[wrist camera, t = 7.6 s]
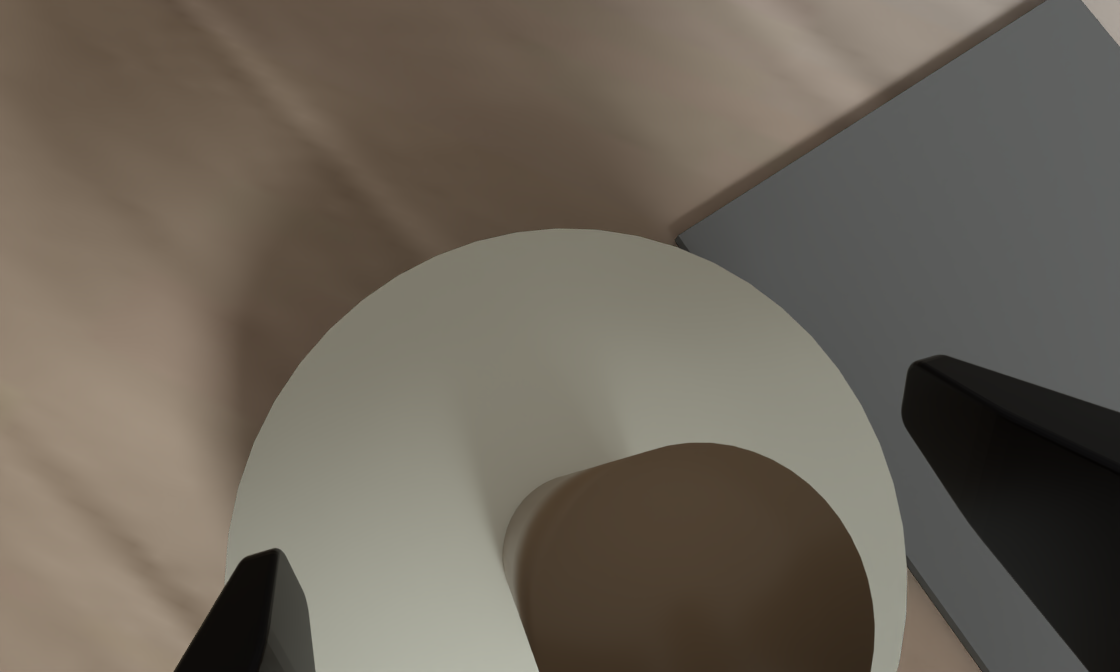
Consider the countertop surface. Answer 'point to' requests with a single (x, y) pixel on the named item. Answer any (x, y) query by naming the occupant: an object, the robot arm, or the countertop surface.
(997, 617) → the mat
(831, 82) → the countertop surface
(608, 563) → the lid
